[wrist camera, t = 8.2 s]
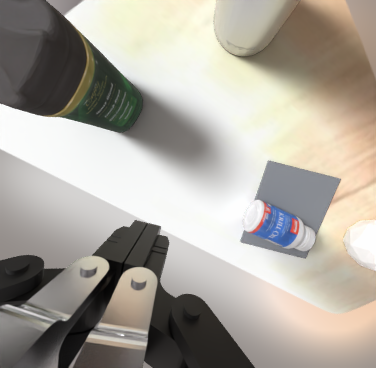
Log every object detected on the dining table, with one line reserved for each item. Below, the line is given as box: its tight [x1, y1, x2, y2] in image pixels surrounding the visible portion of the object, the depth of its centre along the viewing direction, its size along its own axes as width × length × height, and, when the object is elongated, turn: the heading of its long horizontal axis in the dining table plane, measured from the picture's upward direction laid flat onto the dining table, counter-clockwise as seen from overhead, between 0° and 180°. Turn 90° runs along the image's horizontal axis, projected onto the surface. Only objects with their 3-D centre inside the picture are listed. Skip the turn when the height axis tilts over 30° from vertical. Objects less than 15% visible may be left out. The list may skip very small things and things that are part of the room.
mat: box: [241, 161, 341, 259], centre depth 30 cm, size 15×12×1 cm
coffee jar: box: [0, 0, 143, 132], centre depth 19 cm, size 10×8×19 cm
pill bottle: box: [242, 200, 316, 251], centre depth 28 cm, size 6×5×10 cm
